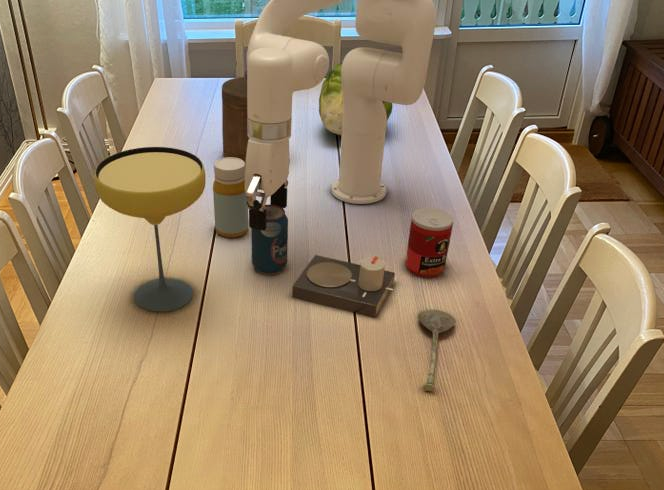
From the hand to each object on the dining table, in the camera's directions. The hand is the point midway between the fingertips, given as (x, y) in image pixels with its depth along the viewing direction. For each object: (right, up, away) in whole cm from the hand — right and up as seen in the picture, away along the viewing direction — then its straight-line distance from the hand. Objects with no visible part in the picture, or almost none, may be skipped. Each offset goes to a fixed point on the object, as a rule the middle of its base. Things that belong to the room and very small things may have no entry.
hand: (268, 217), depth 134 cm
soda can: (0, -8, +7) cm, 11 cm away
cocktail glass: (-19, -15, 0) cm, 24 cm away
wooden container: (-4, +24, +47) cm, 53 cm away
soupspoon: (+28, -25, -13) cm, 39 cm away
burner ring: (+11, -11, 0) cm, 16 cm away
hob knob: (+19, -13, -2) cm, 23 cm away
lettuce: (+22, +34, +59) cm, 72 cm away
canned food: (+31, -9, +7) cm, 33 cm away
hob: (+14, -13, +1) cm, 20 cm away
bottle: (-8, +1, +18) cm, 20 cm away
